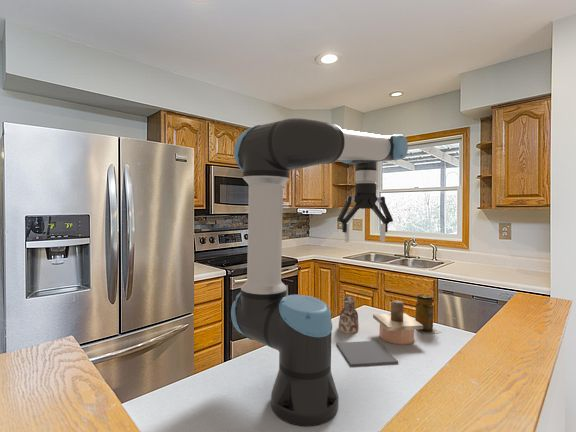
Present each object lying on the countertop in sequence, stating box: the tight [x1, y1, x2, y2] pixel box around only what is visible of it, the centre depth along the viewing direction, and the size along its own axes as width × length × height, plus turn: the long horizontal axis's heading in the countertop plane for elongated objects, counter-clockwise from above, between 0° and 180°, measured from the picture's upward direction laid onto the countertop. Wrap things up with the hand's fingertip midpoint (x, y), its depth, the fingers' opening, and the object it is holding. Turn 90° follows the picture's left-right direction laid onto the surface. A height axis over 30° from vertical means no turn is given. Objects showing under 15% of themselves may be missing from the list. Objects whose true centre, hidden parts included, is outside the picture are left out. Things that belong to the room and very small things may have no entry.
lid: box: [372, 299, 423, 331], centre depth 109 cm, size 12×12×7 cm
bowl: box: [379, 323, 415, 346], centre depth 110 cm, size 11×11×5 cm
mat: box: [336, 340, 399, 367], centre depth 98 cm, size 14×14×1 cm
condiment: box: [414, 294, 442, 335], centre depth 117 cm, size 7×8×12 cm
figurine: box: [338, 294, 359, 334], centre depth 117 cm, size 7×7×12 cm
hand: (364, 241), depth 117 cm, fingers open, 13 cm apart
